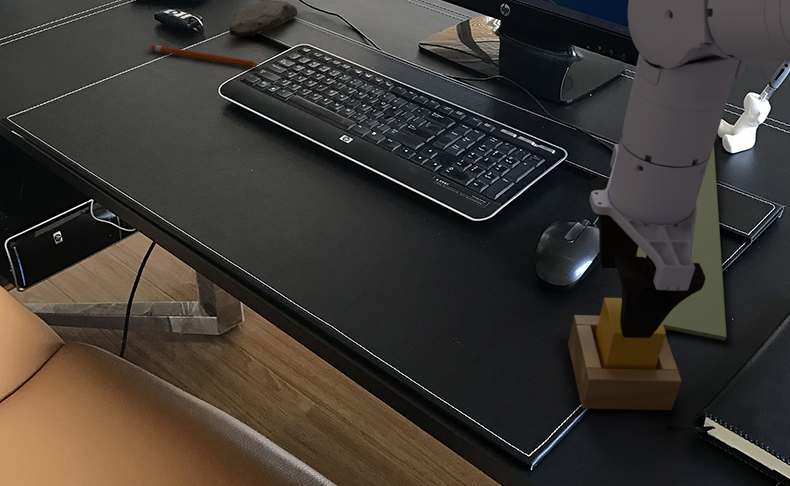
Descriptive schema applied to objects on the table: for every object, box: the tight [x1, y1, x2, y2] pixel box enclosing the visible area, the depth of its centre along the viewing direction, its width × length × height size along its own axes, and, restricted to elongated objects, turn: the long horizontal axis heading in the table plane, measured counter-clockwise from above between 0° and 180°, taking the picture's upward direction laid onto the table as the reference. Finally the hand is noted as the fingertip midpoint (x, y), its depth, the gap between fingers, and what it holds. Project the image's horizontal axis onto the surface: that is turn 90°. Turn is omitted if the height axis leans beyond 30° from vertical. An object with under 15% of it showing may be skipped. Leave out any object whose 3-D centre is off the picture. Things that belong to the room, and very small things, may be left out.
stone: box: [228, 0, 298, 38], centre depth 119 cm, size 13×6×5 cm
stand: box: [567, 314, 683, 411], centre depth 65 cm, size 7×7×4 cm
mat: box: [636, 144, 727, 342], centre depth 85 cm, size 40×8×1 cm, turn 164°
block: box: [594, 297, 667, 370], centre depth 64 cm, size 4×4×7 cm
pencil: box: [150, 44, 261, 68], centre depth 111 cm, size 1×18×1 cm, turn 72°
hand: (624, 298), depth 60 cm, fingers open, 7 cm apart
